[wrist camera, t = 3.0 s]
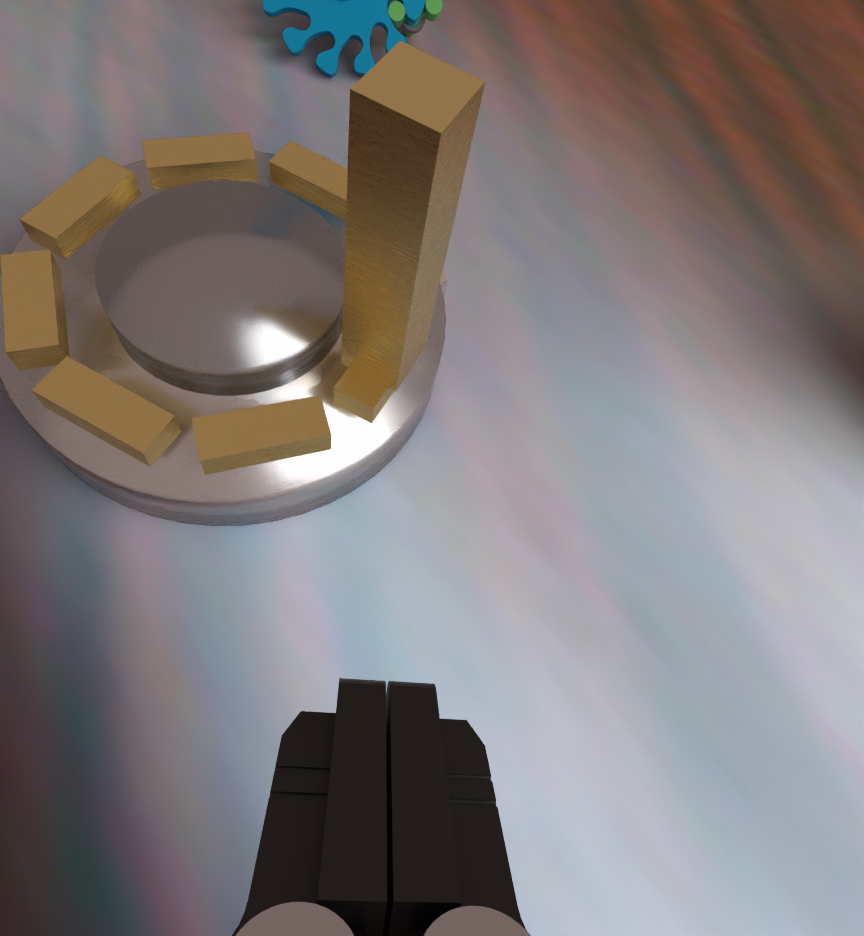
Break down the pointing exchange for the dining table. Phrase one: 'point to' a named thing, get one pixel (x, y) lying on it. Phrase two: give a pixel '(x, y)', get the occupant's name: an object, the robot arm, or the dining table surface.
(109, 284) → the grey round piece
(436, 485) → the dining table surface
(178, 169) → the peg on ring base
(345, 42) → the blue lobed toy
